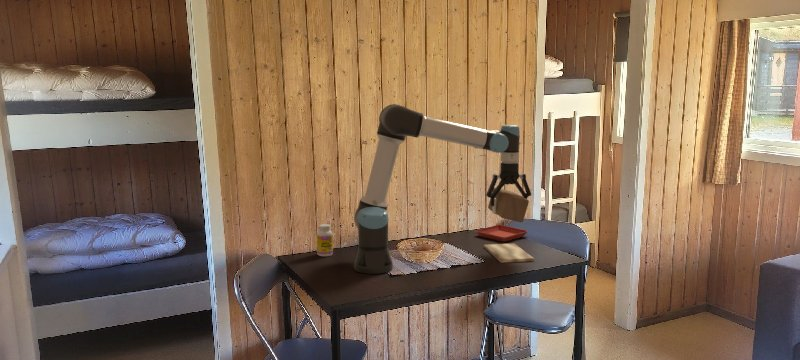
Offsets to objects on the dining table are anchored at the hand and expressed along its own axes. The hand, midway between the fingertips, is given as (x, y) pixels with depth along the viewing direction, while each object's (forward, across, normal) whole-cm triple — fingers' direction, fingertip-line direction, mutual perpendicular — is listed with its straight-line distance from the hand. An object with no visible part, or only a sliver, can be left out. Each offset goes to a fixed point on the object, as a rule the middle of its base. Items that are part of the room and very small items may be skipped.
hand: (508, 213), depth 264 cm
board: (+18, 0, -1) cm, 18 cm away
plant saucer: (+18, +7, +29) cm, 35 cm away
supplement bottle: (+18, -77, +10) cm, 80 cm away
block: (-3, 0, +11) cm, 12 cm away
